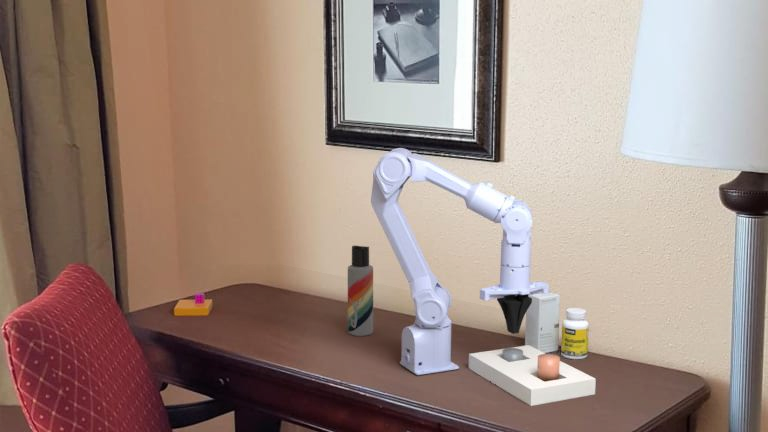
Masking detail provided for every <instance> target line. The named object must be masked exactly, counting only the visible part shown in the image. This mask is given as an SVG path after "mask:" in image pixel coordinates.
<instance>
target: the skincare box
mask: <svg viewBox="0 0 768 432" xmlns="http://www.w3.org/2000/svg"><path fill="white" fill-rule="evenodd" d="M528 297H530V298H532V303H531V305H530V306H529V308H528V309H527V311H526V313H525V327H524V328H525V331H524V333H525V336H524V346H526V345H529V346H531V347H533V348H535V349H537V350H539V351H541V352H543V353H545V354H549V353H552V352H557V351H558V350H559V340H560V339H559V336H560V310H561V309H560V307H561V306H560V304H561V294H558V293H554V292H551V291H548V294H543V293H539V294H530V295H528Z"/></svg>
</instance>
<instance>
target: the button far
mask: <svg viewBox="0 0 768 432" xmlns="http://www.w3.org/2000/svg"><path fill="white" fill-rule="evenodd" d="M503 349H504V350H503V356H502V359H504V360H506V361H508V362H513V361H519V360H523V351H522V350H520V349H517V348H512V347H507V349H506V348H503Z"/></svg>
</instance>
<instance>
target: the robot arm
mask: <svg viewBox="0 0 768 432" xmlns="http://www.w3.org/2000/svg"><path fill="white" fill-rule="evenodd" d="M372 175H373V176H372V177H373V179H372V186H371V188H372V189H371V196H370V204H371V206H372V209H373V211H374V213H375V215H376V218H377V219H378V221H379V223H380V226H381V227H382V229H383V231H384V234H385V235H386V238H387V240H388V242H389V244H390V247H391V248H392V251H393V252H394V254H395V256H396V259H397V261H398V263H399V265H400V267H401V270H402V271H403V273H404V276H405V278H406V279H407V282H408V284H409V289H410V295H411V298H412V300H413V303H414V316H415V319H414V323H412V324H411V325H408V326H405V327H404V328H403V329H402V333H401V357H400V359H401V360H400V361H399V364H400V365H401V366H403V367H404V368H406V369H407V370H409V371H410V372H411V373H413V374H414V375H416V376H421V375H426V374H427V375H429V374H434V373H441V372H449V371H454V370H459V368H460V367H459V365H458V364H455V363H454V362H453V361H451V359H452V357H451V355H452V354H451V352H452V320H451V318H449V316H448V311H449V310H450V308H451V306H452V296H451V293H450V292H449V290H448V289H447V288H445V287H444V286H443V285H442V284H441V283H440V282H439V281H440V280H439V278H438V277H437V276H436V275H435V274H434V273H433V271H432V270H431V267H430V265H429V264H428V262H427V260H426V257H425V255H424V253H423V251H422V249H421V247H420V245H419V242H418V240H417V237H416V236H415V234H414V231H413V230H412V228H411V226H410V224H409V222H408V220H407V217H406V215H405V213H404V211H403V209H402V207H401V205H400V203H399V198H400V195H401V193H402V192H403V188H404V185H405V184H406V182H407V181H409V180H410V181H409V182H410V183H417V182H419V183H420V182H428V183H431V184H433V185H434V186H437V187H439V188H440V189H443V190H445V191H447V192H449V193H451V194H453V195H455V196H458V197H459V198H461V199H463V200H464V203H465V206H466V209H468V210H469V211H472V212H474V213H476V214H478V215H480V216H481V217H483V218H485V219H487V220H489V221H491V222H493V223H494V224H500V225H501V227H502V229H503V230H502V239H501V242H500V245H501V246H500V269H499V270H500V271H499V273H500V276H499V284H496V285H493V286H489V287H484V288H480V289H479V299H480V300H482V301H484V302H487V301H490V300H496V301H497V302H498V304H499V306H500V308H501V310H502V313H503V315H504V320H505V323H506V329H507V332H509V333H510V334H512V335H514V334H519V333H520V329H521V326H522V322H523V320H524V318H525V316H526V311H527V309H528V308H529V306H530V305H531V303H532V298H530V297H528V295H530V294H539V293H543V294H548V292H549V289H550V288H549V287H550V286H549V283H546V282H544V281H538V282H533V281H532V282H531V257H532V240H531V238H532V232H531V229H532V226H533V223H534V221H533V211H532V208H530V206H529V205H528V204H527V203H525V202H524V201H523V200H522V199H516V197H515V196H514V195H512V194H511V195H510V196H509V195H506V194H505V193H503V192H501V191H499V190H497V189H496V188H494V184H493V183H491V182H489V181H487V182H486V183H484V182H482V181H479V182H476V183H470V182H469V181H467V180H465V179H464V178H461V177H460V176H458V175H457V174H455V173H454V172H452V171H450V170H448V169H446V168H445V167H443V166H441V165H440V164H437V163H436V162H435V161H433V160H431V159H429V158H427V157H425V156H422V155H421V154H418V153H416V152H413V153H412V152H411V151H410V150H408V149H406V148H403V147H398V148H397V147H396V148H393V149H392V150H390V151H389V152H386V153H385V154H383V155H382V156H381V157H380V158H379V160H378V162H377V164H376V166H375V168H374V169H373V171H372Z"/></svg>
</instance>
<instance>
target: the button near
mask: <svg viewBox="0 0 768 432" xmlns="http://www.w3.org/2000/svg"><path fill="white" fill-rule="evenodd" d="M560 358H561V357H560V356H558V355H557V354H554V353H553V354H552V353H545V354H541V355H539V356H538V364H537V378H539V379H540V380H542V381H545V382H546V381H552V380H558V379H559V366H560V361H561V359H560Z"/></svg>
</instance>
